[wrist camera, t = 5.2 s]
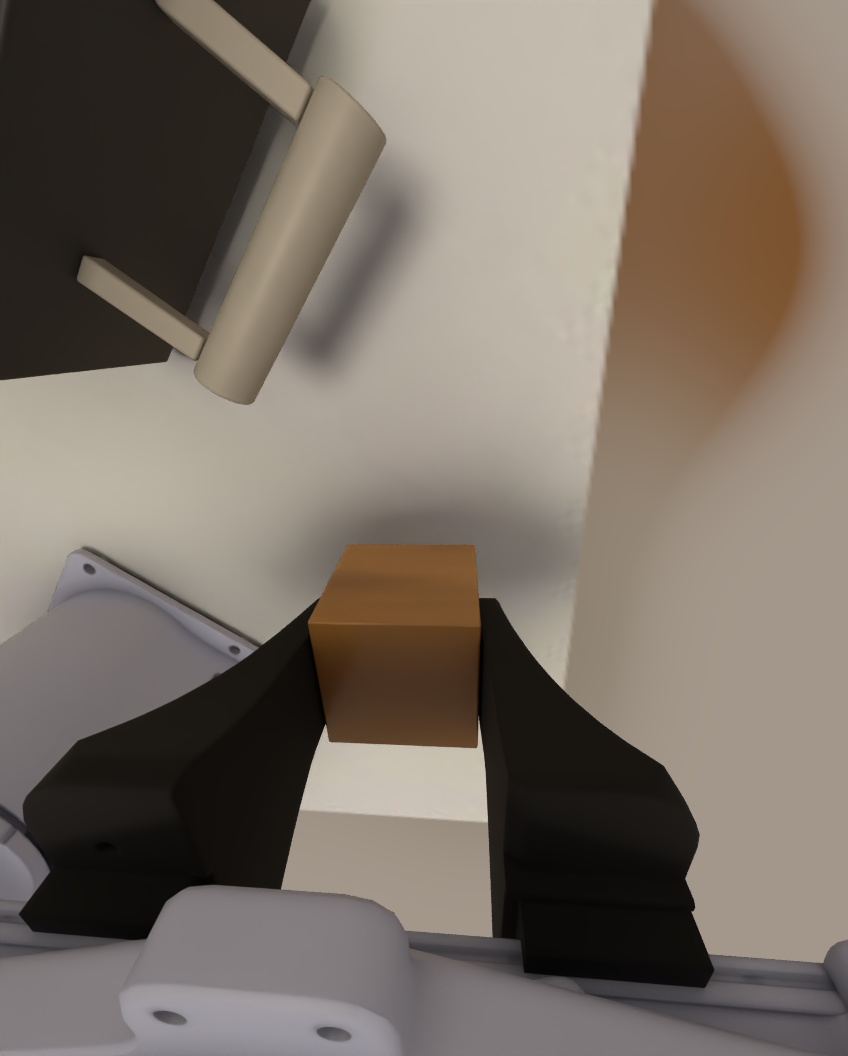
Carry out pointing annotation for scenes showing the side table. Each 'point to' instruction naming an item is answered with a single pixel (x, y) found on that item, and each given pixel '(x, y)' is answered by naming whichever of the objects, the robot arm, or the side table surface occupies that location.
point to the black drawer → (161, 183)
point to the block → (400, 646)
